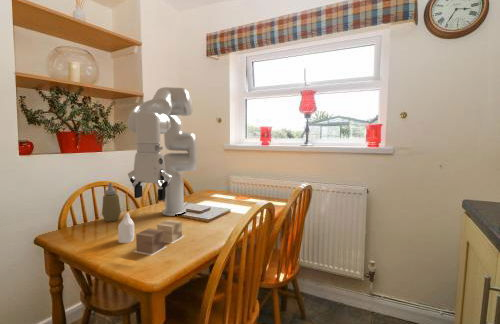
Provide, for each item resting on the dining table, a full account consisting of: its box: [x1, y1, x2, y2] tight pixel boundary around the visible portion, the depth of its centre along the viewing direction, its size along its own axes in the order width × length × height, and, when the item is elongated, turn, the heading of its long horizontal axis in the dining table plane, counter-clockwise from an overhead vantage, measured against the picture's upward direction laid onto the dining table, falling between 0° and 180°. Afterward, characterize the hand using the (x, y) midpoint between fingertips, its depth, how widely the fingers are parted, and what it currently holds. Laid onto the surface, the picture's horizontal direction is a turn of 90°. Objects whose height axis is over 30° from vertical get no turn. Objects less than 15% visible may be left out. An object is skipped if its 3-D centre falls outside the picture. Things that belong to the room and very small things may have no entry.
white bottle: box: [117, 212, 135, 244], centre depth 105 cm, size 6×12×6 cm
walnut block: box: [135, 228, 165, 254], centre depth 97 cm, size 6×6×6 cm
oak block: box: [156, 219, 183, 243], centre depth 107 cm, size 6×6×6 cm
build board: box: [133, 235, 185, 257], centre depth 103 cm, size 22×14×1 cm, turn 160°
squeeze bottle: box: [101, 182, 122, 223], centre depth 133 cm, size 8×8×18 cm
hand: (149, 198), depth 96 cm, fingers open, 9 cm apart
